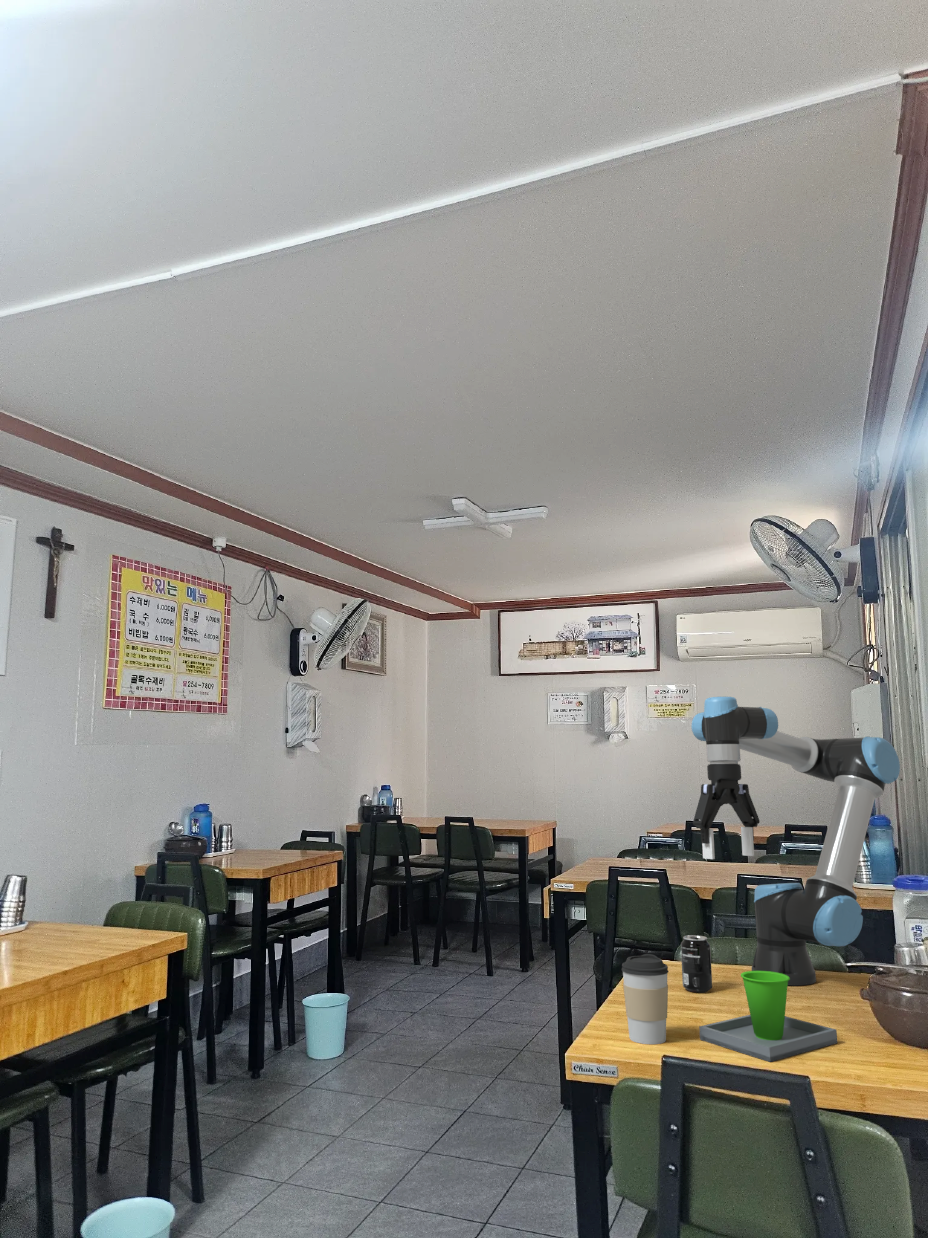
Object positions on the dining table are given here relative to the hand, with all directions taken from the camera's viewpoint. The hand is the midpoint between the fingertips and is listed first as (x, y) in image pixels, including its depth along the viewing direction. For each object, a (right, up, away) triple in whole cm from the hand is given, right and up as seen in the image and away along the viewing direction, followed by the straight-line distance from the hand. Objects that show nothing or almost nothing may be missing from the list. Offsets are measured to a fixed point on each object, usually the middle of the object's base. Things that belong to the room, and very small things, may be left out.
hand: (729, 857), depth 196 cm
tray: (-3, -26, -32) cm, 42 cm away
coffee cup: (-25, -27, -31) cm, 48 cm away
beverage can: (-5, -34, +7) cm, 35 cm away
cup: (-2, -26, -32) cm, 41 cm away
